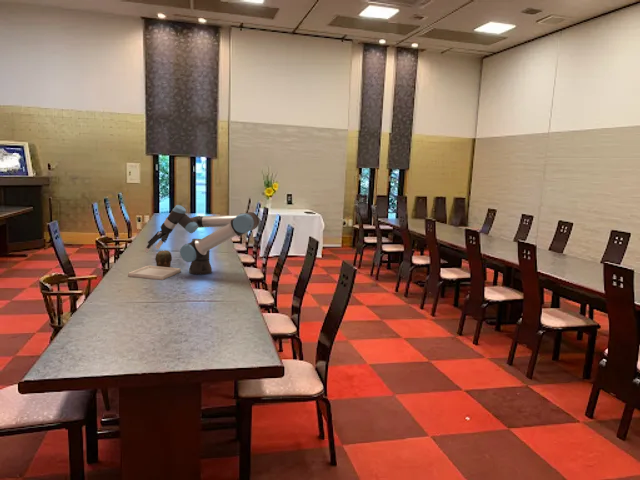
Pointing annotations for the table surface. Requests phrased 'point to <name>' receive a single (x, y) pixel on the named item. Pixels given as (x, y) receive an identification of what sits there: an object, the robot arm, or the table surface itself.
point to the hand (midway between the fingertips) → (151, 249)
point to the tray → (154, 272)
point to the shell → (163, 258)
